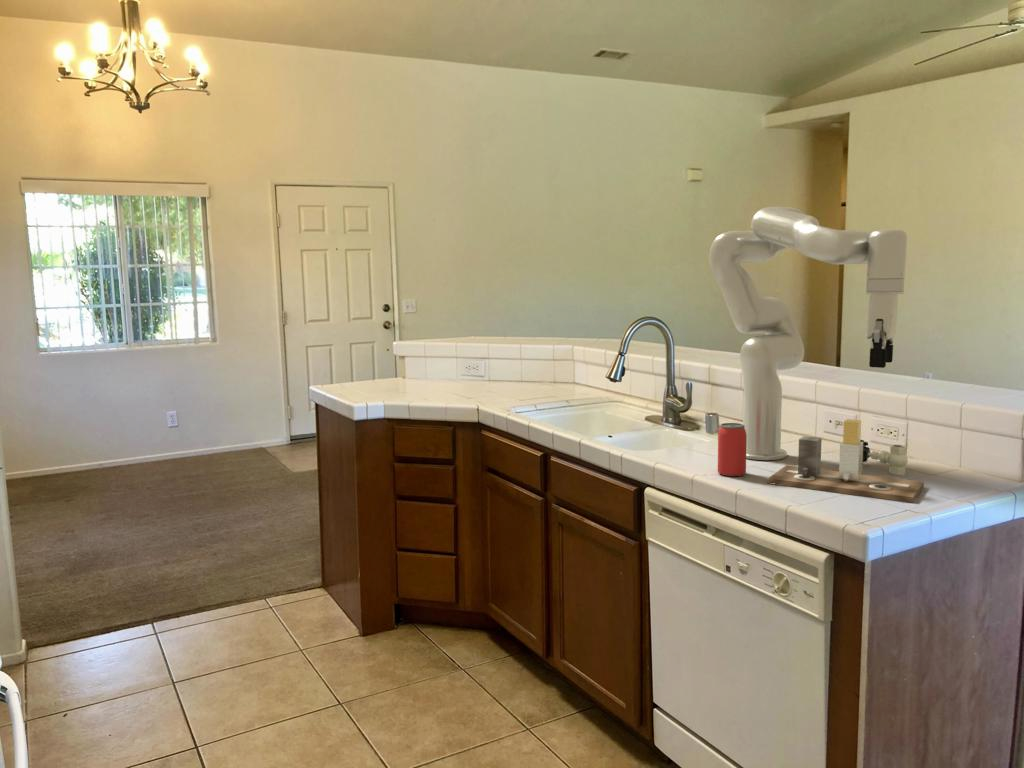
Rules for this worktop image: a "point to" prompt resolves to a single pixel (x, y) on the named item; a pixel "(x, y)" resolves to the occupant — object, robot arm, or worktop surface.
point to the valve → (888, 457)
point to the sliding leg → (851, 451)
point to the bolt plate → (827, 480)
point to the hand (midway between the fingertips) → (880, 364)
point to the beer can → (732, 449)
